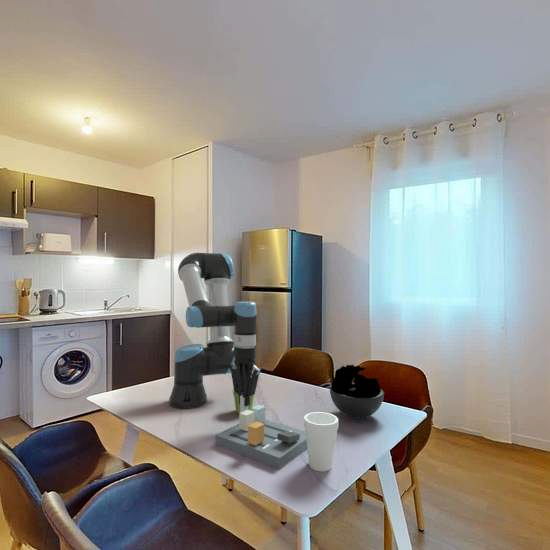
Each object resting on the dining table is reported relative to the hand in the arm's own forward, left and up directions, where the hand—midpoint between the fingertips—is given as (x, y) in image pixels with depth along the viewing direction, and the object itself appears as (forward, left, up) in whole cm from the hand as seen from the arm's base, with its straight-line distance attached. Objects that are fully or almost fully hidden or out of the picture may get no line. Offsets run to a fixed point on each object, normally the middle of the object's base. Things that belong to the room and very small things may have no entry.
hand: (244, 414), depth 124 cm
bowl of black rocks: (+27, +34, -5) cm, 43 cm away
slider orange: (+15, -12, -1) cm, 19 cm away
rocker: (+22, -6, 0) cm, 23 cm away
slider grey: (+6, 0, -1) cm, 6 cm away
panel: (+13, -5, -5) cm, 15 cm away
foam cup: (+33, -6, -5) cm, 34 cm away
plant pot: (-10, +12, -5) cm, 16 cm away
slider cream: (+6, -6, -1) cm, 9 cm away
